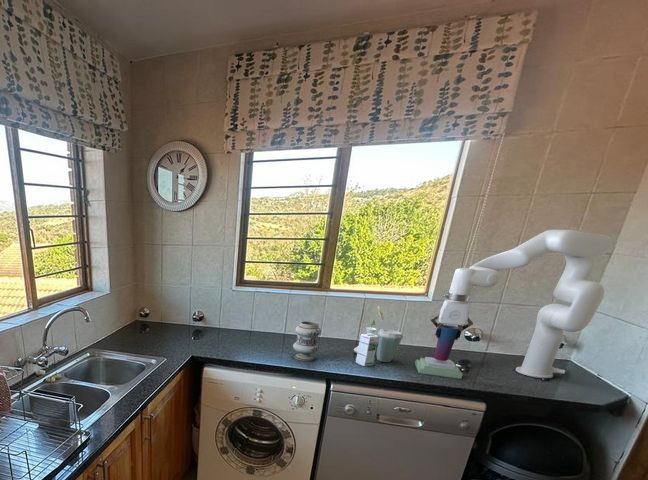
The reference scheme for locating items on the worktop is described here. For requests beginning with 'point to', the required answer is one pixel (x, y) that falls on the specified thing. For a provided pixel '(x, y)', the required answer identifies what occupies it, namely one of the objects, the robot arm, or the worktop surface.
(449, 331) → the cup
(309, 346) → the apothecary jar
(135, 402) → the worktop surface
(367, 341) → the syrup box
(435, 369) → the scale
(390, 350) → the disposable coffee cup
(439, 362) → the scale pan
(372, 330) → the flower in vase
